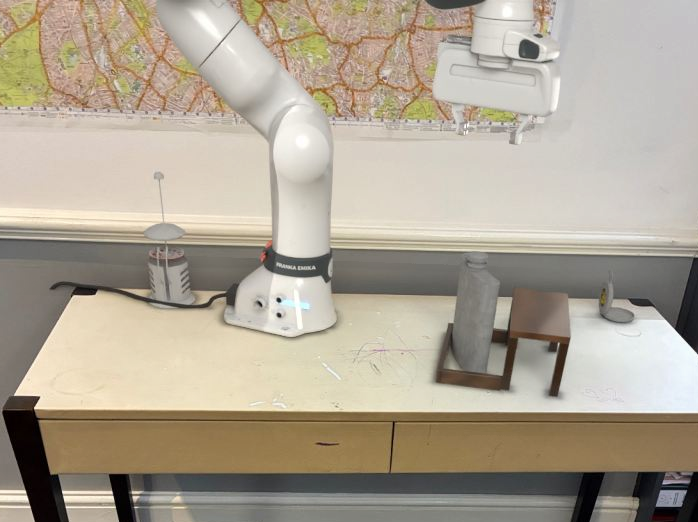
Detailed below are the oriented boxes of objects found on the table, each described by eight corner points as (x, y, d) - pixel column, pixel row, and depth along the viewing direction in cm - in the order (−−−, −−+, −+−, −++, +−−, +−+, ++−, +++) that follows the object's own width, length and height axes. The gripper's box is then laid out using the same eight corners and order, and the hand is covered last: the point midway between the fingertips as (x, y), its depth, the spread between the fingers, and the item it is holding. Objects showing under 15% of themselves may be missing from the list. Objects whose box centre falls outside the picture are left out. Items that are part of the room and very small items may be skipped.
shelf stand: (435, 382, 139) (442, 323, 132) (447, 334, 155) (453, 279, 149) (557, 398, 136) (570, 338, 130) (556, 347, 153) (567, 292, 146)
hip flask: (487, 379, 141) (504, 270, 129) (466, 380, 140) (481, 270, 128) (464, 341, 153) (478, 238, 141) (444, 342, 152) (456, 238, 140)
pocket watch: (640, 320, 166) (652, 274, 160) (613, 328, 162) (625, 281, 156) (610, 306, 171) (621, 261, 165) (584, 313, 167) (594, 267, 161)
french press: (198, 290, 167) (187, 166, 152) (192, 312, 158) (180, 182, 143) (151, 289, 166) (135, 164, 151) (142, 311, 157) (125, 180, 142)
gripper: (430, 34, 120) (422, 132, 128) (557, 49, 112) (539, 153, 121) (448, 31, 125) (439, 126, 133) (571, 46, 117) (553, 146, 125)
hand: (487, 139), depth 127 cm, fingers open, 8 cm apart
